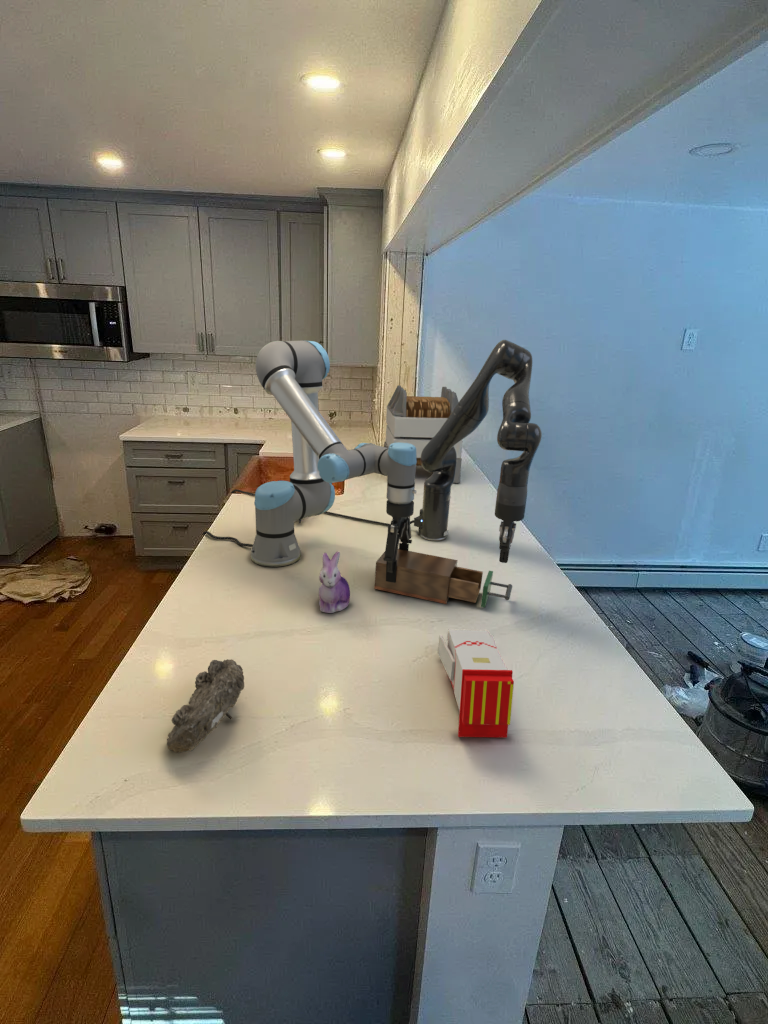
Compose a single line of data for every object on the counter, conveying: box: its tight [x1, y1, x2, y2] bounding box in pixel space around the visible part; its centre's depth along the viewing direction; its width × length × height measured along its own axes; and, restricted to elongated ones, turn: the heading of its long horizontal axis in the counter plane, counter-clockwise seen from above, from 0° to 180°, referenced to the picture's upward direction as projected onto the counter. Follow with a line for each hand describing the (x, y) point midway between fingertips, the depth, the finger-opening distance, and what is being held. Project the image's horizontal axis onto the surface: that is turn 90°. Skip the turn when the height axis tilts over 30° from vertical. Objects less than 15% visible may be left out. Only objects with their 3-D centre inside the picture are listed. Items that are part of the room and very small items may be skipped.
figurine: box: [318, 551, 351, 614], centre depth 147 cm, size 9×10×15 cm
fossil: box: [166, 658, 245, 754], centre depth 106 cm, size 22×10×15 cm
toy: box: [437, 628, 515, 738], centre depth 117 cm, size 12×13×30 cm
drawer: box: [448, 566, 513, 609], centre depth 156 cm, size 25×10×6 cm, turn 72°
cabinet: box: [373, 548, 458, 605], centre depth 160 cm, size 21×11×8 cm, turn 72°
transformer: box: [383, 384, 464, 484], centre depth 268 cm, size 34×33×41 cm
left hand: (397, 572), depth 162 cm, fingers closed on cabinet, 11 cm apart
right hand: (503, 561), depth 151 cm, fingers closed
